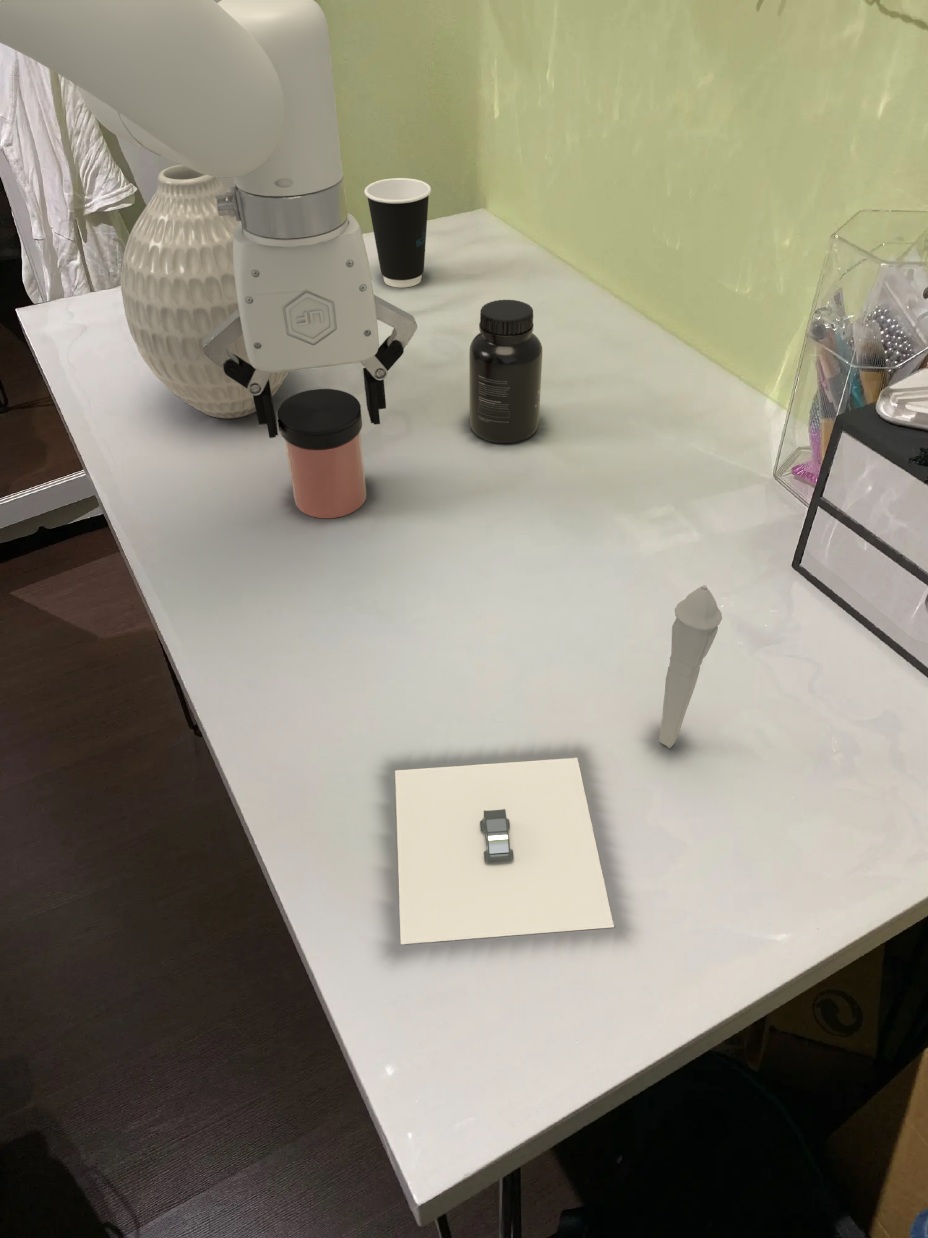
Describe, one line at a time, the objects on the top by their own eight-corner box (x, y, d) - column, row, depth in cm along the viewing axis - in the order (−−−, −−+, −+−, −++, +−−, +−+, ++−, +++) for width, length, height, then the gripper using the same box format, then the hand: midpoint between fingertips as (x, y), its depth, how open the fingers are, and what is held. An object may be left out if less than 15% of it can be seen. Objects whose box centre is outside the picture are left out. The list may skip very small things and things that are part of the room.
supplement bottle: (552, 431, 89) (560, 313, 81) (496, 453, 86) (498, 334, 78) (511, 402, 93) (514, 287, 85) (456, 422, 90) (454, 305, 82)
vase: (289, 352, 101) (256, 134, 86) (332, 422, 90) (303, 186, 75) (141, 381, 97) (78, 156, 81) (168, 459, 86) (102, 216, 71)
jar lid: (282, 454, 73) (279, 435, 72) (276, 411, 78) (273, 393, 77) (367, 443, 74) (365, 425, 73) (356, 401, 79) (355, 384, 78)
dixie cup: (363, 272, 117) (356, 182, 109) (421, 263, 119) (417, 173, 111) (382, 296, 112) (376, 203, 104) (443, 286, 114) (440, 194, 106)
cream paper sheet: (400, 944, 50) (399, 931, 49) (395, 770, 59) (393, 756, 58) (613, 927, 51) (616, 914, 50) (577, 757, 60) (579, 743, 59)
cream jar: (297, 523, 78) (283, 439, 73) (292, 481, 83) (278, 399, 77) (371, 513, 79) (363, 429, 74) (361, 472, 84) (353, 391, 78)
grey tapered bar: (660, 722, 62) (694, 564, 52) (695, 742, 61) (737, 584, 51) (640, 744, 60) (672, 587, 51) (676, 765, 59) (715, 607, 50)
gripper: (165, 238, 60) (219, 460, 72) (423, 213, 63) (433, 432, 75) (168, 199, 65) (217, 412, 78) (405, 177, 68) (417, 387, 80)
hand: (323, 421), depth 76 cm, fingers open, 8 cm apart
